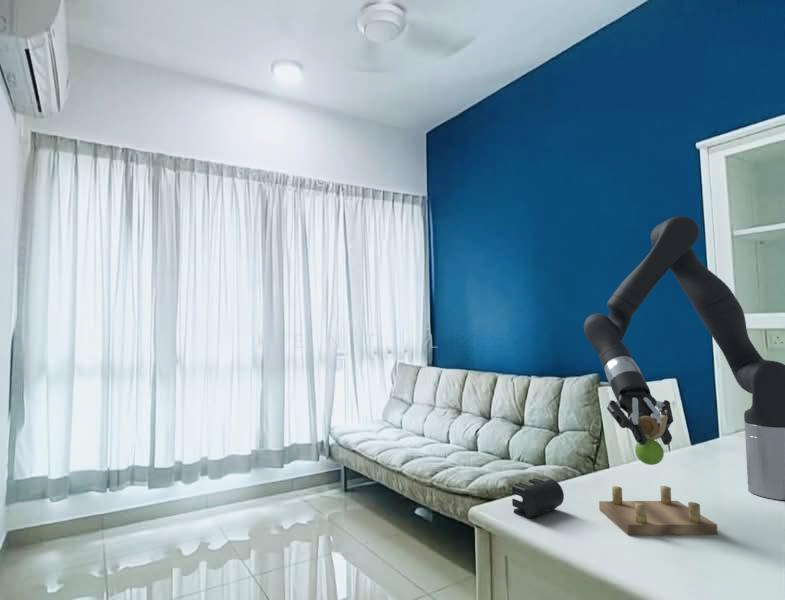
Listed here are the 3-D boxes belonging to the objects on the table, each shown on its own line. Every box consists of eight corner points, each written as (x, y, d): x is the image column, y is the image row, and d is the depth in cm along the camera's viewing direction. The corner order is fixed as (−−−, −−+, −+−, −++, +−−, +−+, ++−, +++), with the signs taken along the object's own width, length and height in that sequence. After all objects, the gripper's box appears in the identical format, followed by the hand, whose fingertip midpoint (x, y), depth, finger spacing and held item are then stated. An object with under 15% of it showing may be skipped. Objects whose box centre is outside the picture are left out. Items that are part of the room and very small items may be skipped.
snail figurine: (669, 470, 97) (667, 412, 98) (634, 465, 100) (632, 409, 101) (669, 463, 102) (668, 408, 102) (636, 459, 105) (635, 405, 106)
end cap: (537, 523, 100) (536, 491, 100) (511, 513, 105) (510, 482, 106) (564, 512, 106) (564, 482, 106) (538, 503, 111) (537, 474, 112)
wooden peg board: (678, 509, 107) (676, 485, 107) (717, 534, 94) (716, 506, 94) (599, 510, 107) (598, 485, 107) (628, 535, 94) (626, 507, 94)
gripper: (600, 369, 110) (628, 433, 97) (661, 369, 110) (697, 433, 97) (591, 389, 115) (617, 452, 102) (649, 389, 115) (682, 452, 102)
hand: (655, 442), depth 99 cm, fingers closed on snail figurine, 4 cm apart
